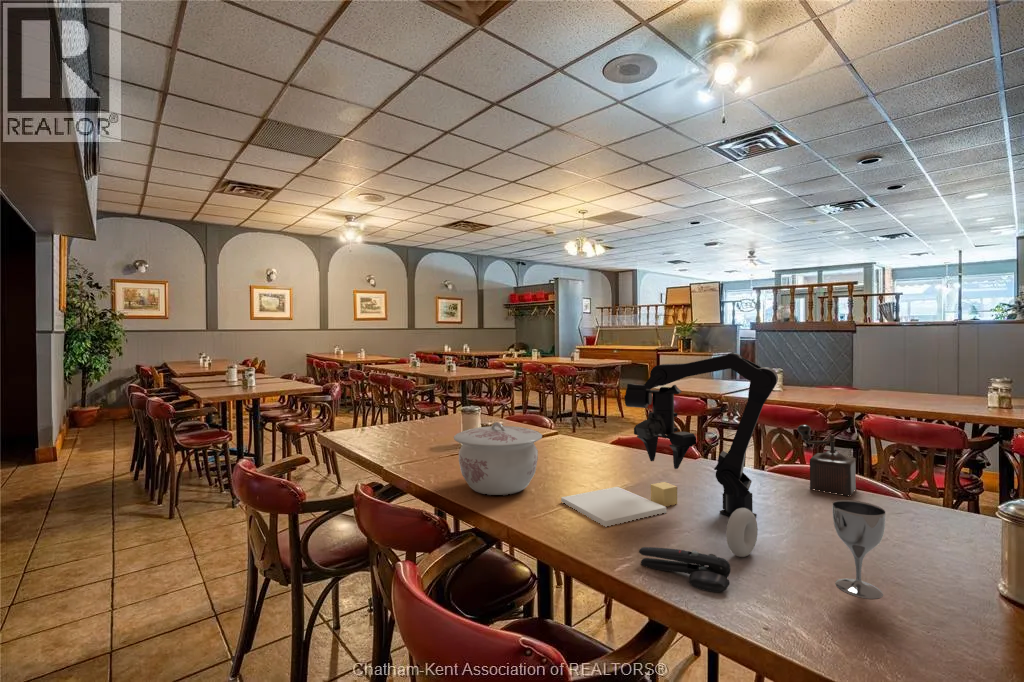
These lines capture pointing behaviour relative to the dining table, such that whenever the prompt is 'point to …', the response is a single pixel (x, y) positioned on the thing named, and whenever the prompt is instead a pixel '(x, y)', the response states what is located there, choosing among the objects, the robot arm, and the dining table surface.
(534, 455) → the chamber pot
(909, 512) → the dining table surface
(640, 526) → the dining table surface
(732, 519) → the donut
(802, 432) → the coffee grinder
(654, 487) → the cube
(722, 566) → the can opener
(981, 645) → the dining table surface
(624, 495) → the board
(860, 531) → the wine glass
